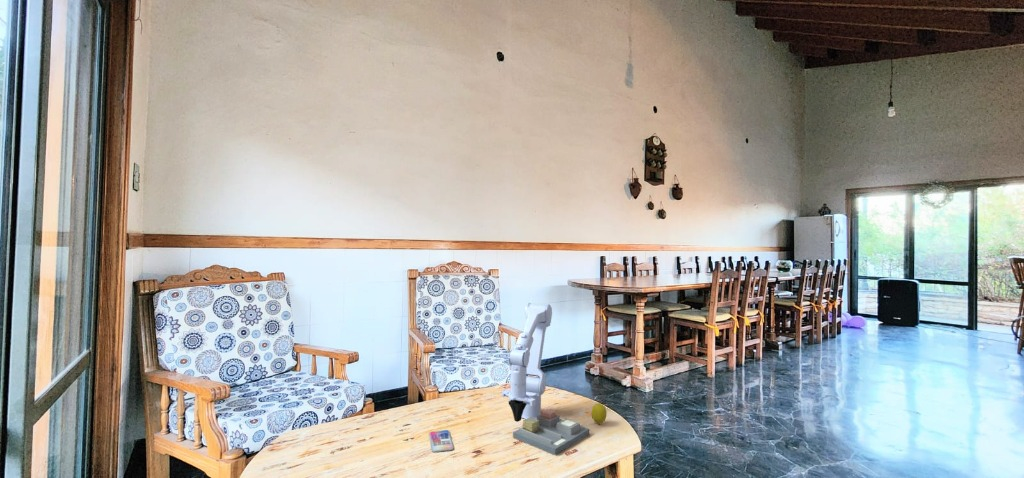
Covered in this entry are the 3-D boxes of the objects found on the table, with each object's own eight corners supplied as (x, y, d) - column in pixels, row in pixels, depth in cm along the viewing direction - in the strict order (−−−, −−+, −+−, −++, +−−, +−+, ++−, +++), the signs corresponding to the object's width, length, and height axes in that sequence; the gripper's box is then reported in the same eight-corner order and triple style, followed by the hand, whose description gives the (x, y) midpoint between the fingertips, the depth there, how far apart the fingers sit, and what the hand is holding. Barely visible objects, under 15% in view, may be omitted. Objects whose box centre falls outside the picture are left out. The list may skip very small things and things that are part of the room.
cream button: (560, 428, 155) (560, 422, 155) (566, 425, 158) (567, 419, 158) (570, 431, 152) (570, 426, 152) (576, 428, 155) (576, 422, 155)
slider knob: (523, 430, 153) (523, 420, 153) (530, 427, 156) (530, 417, 156) (531, 434, 150) (532, 423, 150) (539, 430, 153) (539, 420, 153)
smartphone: (431, 451, 140) (428, 431, 155) (431, 454, 140) (428, 434, 155) (454, 448, 142) (449, 429, 157) (454, 451, 142) (449, 431, 157)
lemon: (606, 428, 162) (606, 406, 162) (591, 426, 163) (591, 405, 163) (606, 422, 167) (606, 401, 167) (591, 420, 168) (591, 399, 168)
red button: (540, 417, 161) (540, 411, 161) (547, 414, 164) (547, 408, 164) (549, 420, 158) (549, 414, 158) (555, 417, 161) (555, 411, 161)
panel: (513, 437, 152) (513, 425, 152) (548, 420, 168) (549, 408, 168) (555, 455, 140) (555, 441, 140) (589, 434, 156) (589, 422, 156)
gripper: (496, 380, 159) (495, 418, 159) (526, 390, 150) (526, 430, 150) (509, 376, 164) (508, 412, 164) (539, 385, 155) (538, 423, 155)
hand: (517, 420), depth 157 cm, fingers closed
